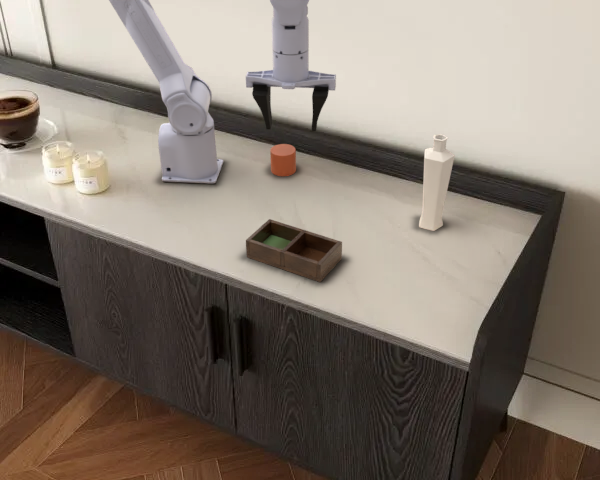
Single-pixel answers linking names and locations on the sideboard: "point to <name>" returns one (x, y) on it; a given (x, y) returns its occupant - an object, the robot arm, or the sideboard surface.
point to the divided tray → (294, 250)
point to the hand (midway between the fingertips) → (291, 127)
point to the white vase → (435, 182)
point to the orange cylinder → (283, 159)
